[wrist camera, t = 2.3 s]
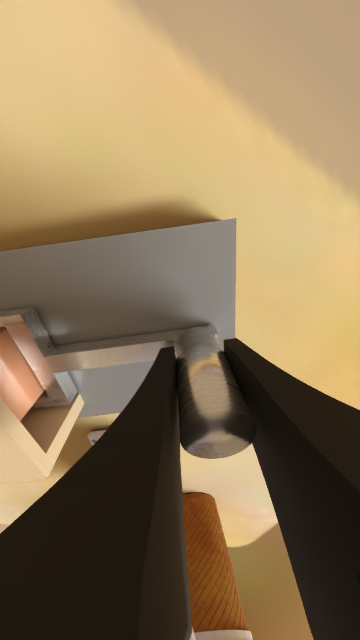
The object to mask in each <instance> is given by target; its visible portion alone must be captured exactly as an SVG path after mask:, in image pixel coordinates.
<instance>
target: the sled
mask: <svg viewBox="0 0 360 640" xmlns="http://www.w3.org/2000/svg"><path fill="white" fill-rule="evenodd" d="M0 327H6V329H7V330H8V332H9V333H10V335H11V337H12V338H13V340H14V341H15V343H16V345H17V346H18V348H19V349H20V351H21V353H22V354H23V356H24V357H25V359H26V361H27V362H28V364H29V365H30V367H31V369H32V370H33V372H34V373H35V375H36V377H37V378H38V380H39V381H40V383H41V384H42V386H43V388H44V389H45V390H44V391H43V393H42V394H41V395H40V397H39V398H38V399H37V400H36V402H35V403H34V404H33V406H32V407H31V408H30V409H34V408H42V407H50V406H57V405H65V404H71V402H72V400H73V398H74V397H75V395H76V393H77V390H76V388H75V386H74V384H73V382H72V380H71V378H70V376H69V374H68V371H76V370H83V369H91V368H99V367H106V366H114V365H121V364H129V363H137V362H144V361H152V360H155V359H156V357H157V355H158V353H159V350H160V349H161V348H164V347H172V346H174V350H175V356H176V367H177V389H178V410H179V431H180V443H181V445H182V447H183V448H184V450H186V451H187V452H188V453H190V454H192V455H194V456H197V457H201V458H208V459H216V458H224V457H228V456H231V455H234V454H237V453H239V452H241V451H242V450H244V449H245V448H247V447H248V446H249V445H250V444H251V443H252V442H253V440H254V439H255V437H256V433H257V428H256V424H255V422H254V420H253V418H252V415H251V413H250V411H249V409H248V406H247V404H246V402H245V399H244V397H243V395H242V393H241V390H240V388H239V386H238V384H237V381H236V379H235V377H234V374H233V372H232V370H231V368H230V365H229V363H228V361H227V358H226V356H225V354H224V352H223V349H222V347H221V345H220V343H219V340H218V332H217V330H216V328H215V326H214V325H211V326H204V327H192V328H189V329H181V330H173V331H166V332H158V333H151V334H143V335H136V336H128V337H121V338H113V339H106V340H98V341H91V342H83V343H76V344H68V345H61V346H54V345H53V343H52V342H51V340H50V338H49V336H48V334H47V332H46V330H45V328H44V326H43V324H42V322H41V320H40V318H39V316H38V315H37V313H36V311H35V309H34V307H30V308H22V309H15V310H8V311H0Z"/></svg>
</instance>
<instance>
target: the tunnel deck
mask: <svg viewBox="0 0 360 640" xmlns="http://www.w3.org/2000/svg"><path fill="white" fill-rule="evenodd" d="M235 284H236V218H235V219H228V220H221V221H213V222H206V223H199V224H192V225H185V226H178V227H170V228H163V229H156V230H149V231H142V232H134V233H127V234H120V235H113V236H106V237H99V238H91V239H84V240H77V241H70V242H63V243H55V244H48V245H41V246H34V247H27V248H20V249H12V250H5V251H0V311H8V310H15V309H22V308H30V307H34V309H35V311H36V313H37V315H38V316H39V318H40V320H41V322H42V324H43V326H44V328H45V330H46V332H47V334H48V336H49V338H50V340H51V342H52V343H53V345H54V346H61V345H68V344H76V343H83V342H91V341H98V340H106V339H113V338H121V337H128V336H136V335H143V334H151V333H158V332H166V331H173V330H181V329H189V328H192V327H204V326H211V325H214V326H215V328H216V330H217V332H218V340H219V343H220V345H221V347H222V349H223V352H224V340H225V339H233V338H235ZM154 361H155V360H152V361H144V362H137V363H129V364H121V365H114V366H106V367H99V368H91V369H83V370H76V371H68V374H69V376H70V378H71V380H72V382H73V384H74V386H75V388H76V390H77V393H76V395H75V397H74V398H73V400H72V402H71V404H65V405H57V406H50V407H42V408H34V409H29V411H28V412H27V413H26V414H25V416H24V417H23V418H22V420H21V421H19V420H18V418H17V417H16V416H15V415H14V413H13V412H12V411H11V410H10V408H9V407H8V406H7V405H6V403H5V402H4V401H3V399H2V398H1V397H0V484H4V483H12V482H20V481H28V480H36V479H44V478H48V476H49V474H50V472H51V470H52V468H53V466H54V464H55V462H56V460H57V458H58V456H59V454H60V452H61V450H62V448H63V446H64V444H65V442H66V439H67V437H68V435H69V433H70V431H71V429H72V427H73V425H74V423H75V421H76V419H77V418H81V417H89V416H97V415H105V414H112V413H120V412H122V411H123V409H124V408H125V407H126V405H127V404H128V403H129V401H130V400H131V398H132V397H133V396H134V394H135V393H136V391H137V390H138V388H139V387H140V385H141V384H142V382H143V380H144V379H145V377H146V375H147V374H148V372H149V370H150V368H151V367H152V365H153V363H154Z"/></svg>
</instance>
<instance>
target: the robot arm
mask: <svg viewBox="0 0 360 640" xmlns="http://www.w3.org/2000/svg"><path fill="white" fill-rule="evenodd" d="M224 354H225V356H226V358H227V361H228V363H229V365H230V368H231V370H232V372H233V374H234V377H235V379H236V381H237V384H238V386H239V388H240V390H241V393H242V395H243V397H244V399H245V402H246V404H247V406H248V409H249V411H250V413H251V415H252V418H253V420H254V422H255V424H256V428H257V433H256V437H255V439H254V440H253V442H252V444H253V446H254V449H255V452H256V455H257V458H258V461H259V464H260V467H261V470H262V473H263V476H264V479H265V482H266V485H267V488H268V491H269V494H270V497H271V500H272V503H273V506H274V510H275V513H276V516H277V519H278V523H279V525H280V528H281V532H282V535H283V539H284V542H285V545H286V548H287V552H288V555H289V558H290V561H291V565H292V569H293V572H294V575H295V579H296V582H297V585H298V589H299V592H300V596H301V599H302V602H303V606H304V609H305V613H306V616H307V620H308V623H309V627H310V630H311V633H312V635H313V638H314V640H360V410H358V409H356V408H354V407H351V406H349V405H347V404H345V403H343V402H340V401H338V400H336V399H334V398H332V397H330V396H328V395H326V394H324V393H322V392H320V391H318V390H317V389H315V388H313V387H311V386H309V385H307V384H305V383H303V382H302V381H300V380H298V379H296V378H295V377H293V376H291V375H290V374H288V373H286V372H285V371H283V370H281V369H280V368H278V367H277V366H275V365H274V364H272V363H271V362H269V361H268V360H266V359H265V358H263V357H262V356H260V355H259V354H258V353H256V352H255V351H253V350H252V349H251V348H249V347H248V346H246V345H245V344H244V343H242V342H241V341H240V340H238V339H237V338H233V339H225V340H224ZM87 438H88V440H89V442H90V443H91V445H92V447H91V448H90V449H89V450H88V451H87V452H86V453H85V454H84V455H83V456H82V457H81V458H80V459H79V460H78V461H77V462H76V463H75V464H74V465H73V466H72V467H71V468H70V469H69V471H68V472H67V473H66V474H65V475H64V476H63V477H62V478H61V479H59V480H58V481H57V482H56V483H55V484H54V485H53V486H52V487H51V488H50V489H49V490H48V491H47V492H46V493H45V494H44V495H43V496H41V497H40V498H39V499H38V500H37V501H36V502H35V503H34V504H33V505H32V506H30V507H29V508H28V509H27V510H26V511H25V512H24V513H23V514H22V515H21V516H19V517H18V518H17V519H16V520H15V521H14V522H13V523H12V524H11V525H10V526H8V527H7V528H6V529H5V530H4V531H3V532H2V533H1V534H0V640H196V638H195V635H194V631H193V628H192V622H191V609H190V596H189V582H188V569H187V555H186V541H185V527H184V512H183V497H182V481H181V465H180V431H179V410H178V389H177V367H176V356H175V350H174V346H172V347H164V348H161V349H160V350H159V353H158V355H157V357H156V359H155V361H154V363H153V365H152V367H151V368H150V370H149V372H148V374H147V375H146V377H145V379H144V380H143V382H142V384H141V385H140V387H139V388H138V390H137V391H136V393H135V394H134V396H133V397H132V398H131V400H130V401H129V403H128V404H127V405H126V407H125V408H124V409H123V411H122V412H121V413H120V414H119V416H118V417H117V418H116V419H115V421H114V422H113V423H112V424H111V425H110V427H109V428H108V429H107V430H100V431H93V432H90V433H89V434H88V437H87Z"/></svg>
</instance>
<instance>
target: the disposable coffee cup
mask: <svg viewBox="0 0 360 640" xmlns="http://www.w3.org/2000/svg"><path fill="white" fill-rule="evenodd" d="M182 497H183V512H184V527H185V541H186V555H187V569H188V582H189V596H190V609H191V622H192V628H193V631H194V635H195V638H196V640H253V639H252V634H251V632H250V631H249V630H248V626H247V623H246V619H245V615H244V611H243V607H242V603H241V599H240V596H239V591H238V588H237V584H236V580H235V576H234V572H233V568H232V564H231V561H230V557H229V553H228V549H227V545H226V541H225V537H224V533H223V530H222V526H221V522H220V518H219V515H218V511H217V507H216V503H215V499H214V498H213V497H212V496H210V495H208V494H204V493H191V494H185V495H182Z"/></svg>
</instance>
